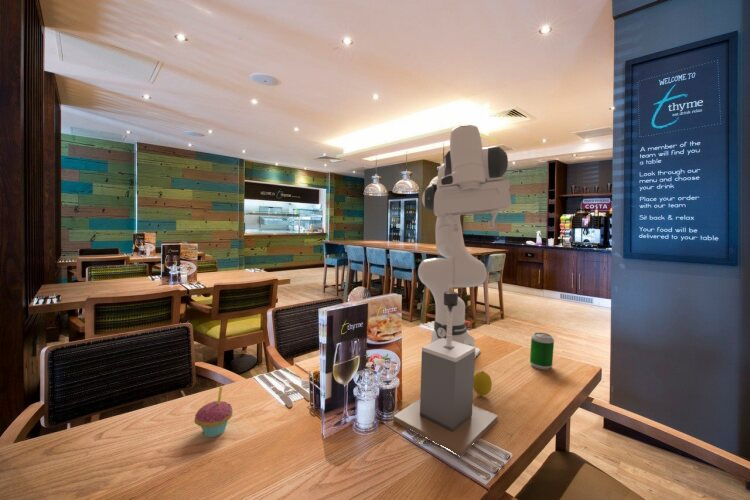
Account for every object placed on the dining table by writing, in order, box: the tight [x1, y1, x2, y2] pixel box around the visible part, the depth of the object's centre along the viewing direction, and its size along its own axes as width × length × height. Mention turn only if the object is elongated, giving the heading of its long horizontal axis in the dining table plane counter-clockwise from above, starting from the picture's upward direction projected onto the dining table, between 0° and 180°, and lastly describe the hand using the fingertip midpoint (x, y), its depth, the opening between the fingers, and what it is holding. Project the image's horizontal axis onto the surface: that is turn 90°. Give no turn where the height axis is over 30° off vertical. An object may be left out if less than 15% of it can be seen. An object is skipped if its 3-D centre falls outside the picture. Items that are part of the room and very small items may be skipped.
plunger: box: [443, 291, 459, 350], centre depth 89 cm, size 8×8×24 cm
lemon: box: [473, 370, 493, 397], centre depth 104 cm, size 6×6×8 cm
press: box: [392, 338, 499, 458], centre depth 91 cm, size 20×20×20 cm
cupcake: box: [194, 383, 233, 438], centre depth 85 cm, size 9×8×12 cm
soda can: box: [529, 332, 555, 371], centre depth 126 cm, size 8×8×12 cm
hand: (473, 229), depth 92 cm, fingers open, 8 cm apart
